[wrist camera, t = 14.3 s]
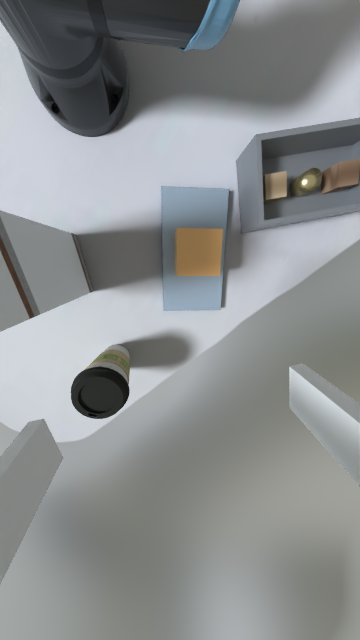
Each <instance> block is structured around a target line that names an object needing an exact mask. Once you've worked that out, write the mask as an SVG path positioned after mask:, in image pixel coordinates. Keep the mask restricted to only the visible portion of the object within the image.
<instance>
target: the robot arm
mask: <svg viewBox="0 0 360 640" xmlns="http://www.w3.org/2000/svg"><path fill="white" fill-rule="evenodd" d="M239 2H240V0H0V21H1V23H2V24H3V26H4V27H5V29H6V30H7V32H8V33H9V34H10V36H11V37H12V39H13V40H14V42H15V43H16V45H17V47H18V49H19V52H20V55H21V58H22V61H23V64H24V67H25V69H26V72H27V75H28V78H29V80H30V83H31V85H32V87H33V89H34V91H35V93H36V95H37V96H38V98H39V100H40V101H41V102H42V104H43V105H44V107H45V108H46V109H47V111H48V112H49V113H50V114H51V116H52V117H53V118H54V119H55V120H56V121H57V122H58V123H59V124H60V125H62V126H63V127H64V128H66V129H68V130H69V131H71V132H73V133H76V134H78V135H82V136H99V135H102V134H105V133H107V132H108V131H110V130H111V129H113V128H114V127H115V126H116V125H117V124H118V122H119V121H120V120H121V118H122V116H123V114H124V112H125V109H126V106H127V102H128V96H129V79H128V73H127V67H126V62H125V57H124V54H123V50H122V47H121V45H120V42H119V40H126V41H134V42H141V43H149V44H157V45H164V46H172V47H178V49H179V50H180V51H183V52H185V51H187V50H189V49H199V50H209V49H212V48H214V46H216V44H218V43H219V42H220V41H221V40H222V39H223V37H224V36H225V34H226V32H227V30H228V28H229V26H230V24H231V22H232V20H233V17H234V15H235V12H236V10H237V7H238V4H239ZM289 368H290V369H289V380H290V381H289V388H290V389H289V397H290V398H289V407H290V408H291V410H292V411H293V412H294V413H295V414H296V415H297V416H298V417H299V419H300V420H301V421H302V422H303V423H304V424H305V425H306V427H307V428H308V429H309V430H310V431H311V432H312V433H313V434H314V436H315V437H316V438H317V439H318V440H319V441H320V442H321V443H322V445H323V446H324V447H325V448H326V449H327V450H328V451H329V452H330V454H331V455H332V456H333V457H334V458H335V459H336V460H337V462H338V463H339V464H340V465H341V466H342V467H343V468H344V469H345V470H346V472H347V473H348V474H349V475H350V476H351V477H352V478H353V480H354V481H355V482H356V483H357V484H358V485H359V486H360V404H359V403H357V402H356V401H355V400H353V399H352V398H350V397H349V396H348V395H346V394H345V393H343V392H342V391H341V390H339V389H338V388H336V387H335V386H333V385H332V384H331V383H329V382H328V381H327V380H325V379H324V378H322V377H321V376H320V375H318V374H317V373H315V372H314V371H312V370H311V369H310V368H308V367H307V366H306V365H304V364H299V365H294V366H290V367H289ZM62 459H63V456H62V454H61V452H60V450H59V448H58V446H57V444H56V442H55V440H54V438H53V436H52V434H51V432H50V430H49V428H48V426H47V424H46V422H45V420H44V419H41V420H36V421H32V422H28V424H27V425H26V426H25V427H24V428H23V430H22V431H21V432H20V433H19V435H18V436H17V437H16V438H15V440H14V441H13V442H12V443H11V444H10V446H9V447H8V448H7V449H6V450H5V452H4V453H3V454H2V455H1V456H0V584H1V582H2V580H3V578H4V576H5V574H6V572H7V570H8V567H9V566H10V563H11V561H12V560H13V558H14V556H15V553H16V552H17V550H18V548H19V546H20V544H21V541H22V539H23V537H24V536H25V534H26V531H27V529H28V527H29V525H30V523H31V521H32V519H33V517H34V515H35V513H36V511H37V509H38V507H39V505H40V503H41V501H42V499H43V497H44V495H45V493H46V491H47V489H48V487H49V485H50V483H51V481H52V479H53V477H54V475H55V473H56V471H57V469H58V467H59V465H60V463H61V461H62Z"/></svg>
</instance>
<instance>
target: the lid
mask: <svg viewBox="0 0 360 640" xmlns="http://www.w3.org/2000/svg"><path fill="white" fill-rule="evenodd" d="M161 195H162V249H163V302H164V311H182V310H221V296H222V282H223V267H224V253H225V239H226V225H227V210H228V196H229V189H217V188H195V187H172V186H161Z"/></svg>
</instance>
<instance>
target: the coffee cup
mask: <svg viewBox="0 0 360 640" xmlns="http://www.w3.org/2000/svg"><path fill="white" fill-rule="evenodd" d="M129 371H130V354H129V351H128V350H127V349H126V348H125V347H123V346H121V345H112V346H110V347H108V348H107V349H106V350H105V351H104V352H102V353H101V354H100V355H99V356H98V357H97V358H96V359H95V360H94V361H93V362H92V363H91V364H90V365H89V366H88V367H87V368H86V369H85V370H84V371H82V372H81V373H80V374H78V375H77V376H76V378H75V379H74V381H73V384H72V387H71V400H72V403H73V406H74V407H75V409H76V410H77V411H78V412H80V413H81V414H82V415H84V416H87V417H90V418H95V419H102V418H107V417H110V416H112V415H114V414H115V413H117V412H118V411H119V410H120V409H121V408H122V407H123V406H124V404H125V403H126V401H127V399H128V397H129V386H128V384H129Z"/></svg>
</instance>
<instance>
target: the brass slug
mask: <svg viewBox="0 0 360 640" xmlns="http://www.w3.org/2000/svg"><path fill="white" fill-rule="evenodd" d="M321 182H322V173H321V171H320V170H319V169H318V168H311V169H309V170H307V171H306V172H304V173H303V174H301V175H299V176H298V177H296V178H295V179H293V180H292V182H291V184H290V187H289V191H290V194H291V195H292V196H293V197H295V198H298V197H301V196H303V195H305V194H307V193H309V192H311V191H313V190H315V189H317V188H318V187H319V186H320V184H321Z"/></svg>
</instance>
